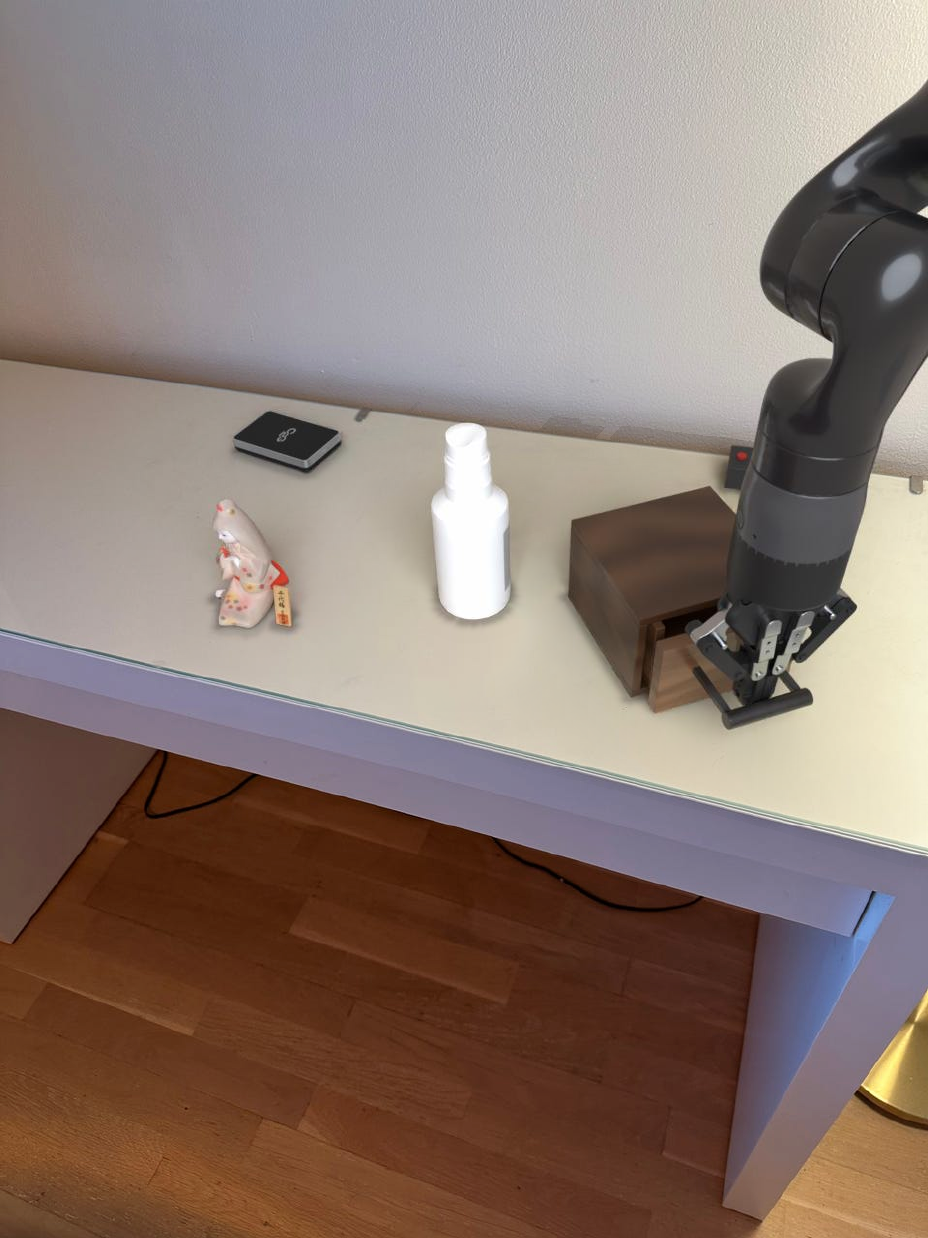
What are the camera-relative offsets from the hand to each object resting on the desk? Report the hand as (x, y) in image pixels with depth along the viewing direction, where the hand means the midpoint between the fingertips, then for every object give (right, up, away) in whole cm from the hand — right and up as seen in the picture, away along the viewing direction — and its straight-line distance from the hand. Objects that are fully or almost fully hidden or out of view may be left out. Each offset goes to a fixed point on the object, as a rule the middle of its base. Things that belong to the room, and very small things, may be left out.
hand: (751, 700), depth 72 cm
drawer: (-2, +2, +7) cm, 8 cm away
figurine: (-42, +7, +17) cm, 46 cm away
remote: (+10, +21, +27) cm, 36 cm away
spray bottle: (-21, +8, +17) cm, 28 cm away
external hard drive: (-43, +26, +37) cm, 62 cm away
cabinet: (-4, +6, +12) cm, 14 cm away
